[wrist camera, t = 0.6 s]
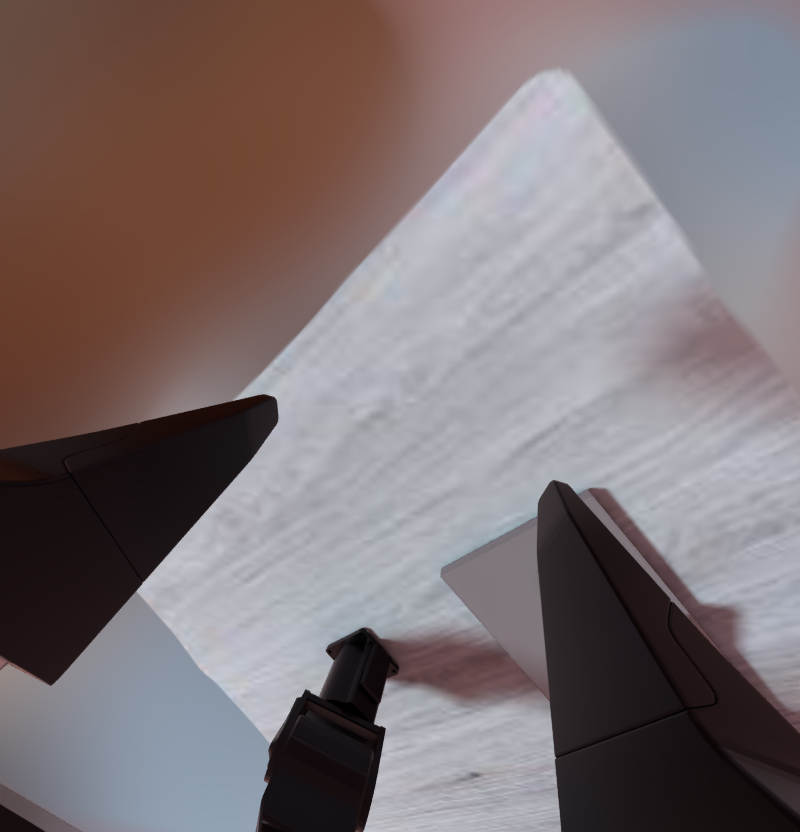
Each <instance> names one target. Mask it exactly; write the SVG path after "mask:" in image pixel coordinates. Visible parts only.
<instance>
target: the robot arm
mask: <svg viewBox="0 0 800 832" xmlns="http://www.w3.org/2000/svg"><path fill="white" fill-rule="evenodd" d="M277 422H278V407H277V400H276V398H275V397H272V396H269V395H265V394H262V395H257V396H253V397H249V398H244V399H240V400H235V401H231V402H227V403H222V404H218V405H214V406H209V407H205V408H200V409H196V410H192V411H187V412H183V413H178V414H174V415H169V416H165V417H161V418H156V419H152V420H147V421H143V422H140V423H134V424H130V425H125V426H121V427H116V428H111V429H107V430H102V431H98V432H92V433H87V434H82V435H77V436H71V437H66V438H61V439H56V440H50V441H44V442H39V443H33V444H28V445H22V446H17V447H11V448H6V449H0V670H1V669H2V668H4V667H5V666H6V665H7V664H9V665H11V666H13V667H15V668H17V669H19V670H21V671H23V672H25V673H27V674H29V675H31V676H33V677H34V678H36V679H38V680H40V681H42V682H44V683H46V684H48V685H50V686H51V685H53V684H54V683H55V682H56V681H57V680H58V679H59V678H60V677H61V676H62V674H64V672H65V671H66V670H67V669H68V668H69V667H70V666H71V664H72V663H73V662H74V661H75V660H76V659H77V658H78V657H79V655H80V654H81V653H82V652H83V651H84V650H85V649H86V647H87V646H88V645H89V644H90V643H91V642H92V640H93V639H94V638H95V637H96V636H97V635H98V634H99V633H100V631H101V630H102V629H103V628H104V627H105V626H106V625H107V623H108V622H109V621H110V620H111V619H112V618H113V617H114V615H115V614H116V613H117V612H118V611H119V610H120V609H121V608H122V606H123V605H124V604H125V603H126V602H127V601H128V600H129V598H130V597H131V596H132V595H133V594H134V593H135V592H136V591H137V589H138V588H139V587H140V586H141V585H142V584H143V582H144V581H145V580H146V579H147V578H148V577H149V576H150V574H151V573H152V572H153V571H154V570H155V569H156V568H157V566H158V565H159V564H160V563H161V562H162V561H163V560H164V558H165V557H166V556H167V555H168V554H169V553H170V552H171V551H172V549H173V548H174V547H175V546H176V545H177V544H178V543H179V541H180V540H181V539H182V538H183V537H184V536H185V535H186V533H187V532H188V531H189V530H190V529H191V528H192V527H193V526H194V524H195V523H196V522H197V521H198V520H199V519H200V518H201V516H202V515H203V514H204V513H205V512H206V511H207V510H208V508H209V507H210V506H211V505H212V504H213V503H214V502H215V501H216V499H217V498H218V497H219V496H220V495H221V494H222V493H223V491H224V490H225V489H226V488H227V487H228V486H229V485H230V483H231V482H232V481H233V480H234V479H235V478H236V477H237V476H238V474H239V473H240V472H241V471H242V470H243V469H244V468H245V466H246V465H247V464H248V463H249V462H250V461H251V459H252V458H253V457H254V455H255V454H256V453H257V451H258V450H259V449H260V447H261V446H262V444H263V443H264V442H265V440H266V439H267V437H268V436H269V434H270V433H271V432H272V430H273V429H274V427H275V426H276V424H277ZM537 565H538V576H539V587H540V598H541V609H542V620H543V631H544V642H545V653H546V664H547V675H548V686H549V697H550V708H551V719H552V730H553V741H554V752H555V757H556V759H555V766H556V777H557V788H558V799H559V810H560V821H561V832H800V733H799V732H798V731H797V730H796V729H795V728H794V727H793V726H792V725H791V724H790V723H789V722H788V721H787V720H786V719H785V718H784V717H783V716H782V715H781V714H780V713H779V712H778V711H777V710H776V709H775V708H774V707H773V706H772V705H771V704H770V703H769V702H768V701H767V700H766V699H765V698H764V697H763V696H762V695H761V694H760V693H759V692H758V691H757V690H756V689H755V688H754V687H753V686H752V685H751V684H750V683H749V682H748V681H747V680H746V679H745V678H744V677H743V676H742V675H741V674H740V672H739V671H738V670H737V669H736V668H735V667H734V666H733V665H732V664H731V663H730V662H729V661H728V660H727V659H726V658H725V657H724V656H723V655H722V654H721V653H720V652H719V651H718V650H717V649H716V648H715V647H714V646H713V645H712V643H711V642H710V641H709V640H708V639H707V638H706V637H705V636H704V635H703V634H702V633H701V632H700V630H699V629H698V628H697V627H696V626H695V625H694V624H693V623H692V622H691V621H690V620H689V619H688V617H687V616H686V615H685V614H684V613H683V612H682V611H681V610H680V608H679V607H678V606H677V605H676V604H675V603H674V602H671V599H670V597H669V596H668V595H667V594H666V593H665V592H664V591H663V590H662V589H661V587H660V586H659V585H658V584H657V583H656V582H655V581H654V580H653V578H652V577H651V576H650V575H649V574H648V573H647V572H646V571H645V570H644V568H643V567H642V566H641V565H640V564H639V563H638V562H637V561H636V560H635V558H634V557H633V556H632V555H631V554H630V553H629V552H628V551H627V549H626V548H625V547H624V546H623V545H622V544H621V543H620V542H619V541H618V539H617V538H616V537H615V536H614V535H613V534H612V533H611V532H610V531H609V529H608V528H607V527H606V526H605V525H604V524H603V523H602V522H601V521H600V519H599V518H598V517H597V516H596V515H595V514H594V513H593V512H592V510H591V509H590V508H589V507H588V506H587V505H586V504H585V503H584V502H583V500H582V499H581V498H580V497H579V496H578V495H577V494H576V493H575V492H574V490H573V489H572V488H571V487H570V486H569V485H568V484H566V483H563V482H559V481H556V480H553V481H551V482H550V483H549V485H548V486H547V488H546V489H545V491H544V492H543V494H542V496H541V497H540V499H539V502H538V519H537ZM326 652H327V653H328V655H329V656H330V657H331V658H332V659H333V660H334V662H333V665H332V667H331V669H330V672H329V674H328V676H327V679H326V681H325V684H324V686H323V688H322V691H321V693H320V695H319V697H318V696H316V695H314V694H312V693H310V691H309V690H305V691H304V693H303V695H302V697H298V698H297V699H296V701H295V703H294V705H293V707H292V709H291V711H290V713H289V715H288V717H287V719H286V720H285V722H284V723H283V725H282V727H281V728H280V730H279V731H278V733H277V734H276V736H275V738H274V739H273V741H272V743H271V745H270V747H269V750H268V751H269V759H270V760H269V763H268V766H267V767H268V769H267V771H266V774H265V778H264V781H265V782H267V783H268V786H267V788H266V790H265V792H264V795H263V797H262V800H261V805H260V811H259V816H258V822H257V827H256V832H363V831H364V828H365V825H366V821H367V818H368V814H369V810H370V806H371V802H372V798H373V794H374V789H375V785H376V780H377V775H378V769H379V763H380V758H381V752H382V747H383V741H384V736H385V730H386V728H384V727H382V726H380V727H379V726H377V725H375V724H374V721H375V717H376V713H377V710H378V706H379V703H380V702H381V699H382V695H383V691H384V687H385V683H386V679H387V678H389V677H392V676H394V675H396V674H398V671H399V667H398V666H397V664H396V663H395V662H394V661H393V660H392V659H391V658H390V657H389V656H388V655H387V653H386V652H385V651H384V650H383V649H382V648H381V647H380V646H379V645H378V643H377V642H376V641H375V640H374V639H373V638H372V637H371V636H370V635H369V634H368V632H367V631H366V630H364V629H360V630H358V631H356V632H354V633H352V634H350V635H348V636H346V637H344V638H342V639H340V640H338V641H336V642H334V643H332V644H330V645H329V646H328V647H327V649H326ZM0 832H82V831H81V830H79V829H77V828H76V827H74V826H72V825H71V824H69V823H67V822H65V821H63V820H62V819H60V818H59V817H57V816H55V815H54V814H52V813H50V812H49V811H47V810H45V809H43V808H42V807H40V806H38V805H37V804H35V803H33V802H31V801H30V800H28V799H26V798H25V797H23V796H21V795H20V794H18V793H16V792H15V791H13V790H11V789H9V788H8V787H6V786H4V785H3V784H1V783H0Z"/></svg>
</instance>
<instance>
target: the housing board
mask: <svg viewBox="0 0 800 832" xmlns="http://www.w3.org/2000/svg"><path fill="white" fill-rule="evenodd" d="M578 496H579V497H580V498H581V499H582V500H583V502H584V503H585V504H586V505H587V506H588V507H589V508H590V509H591V510H592V512H593V513H594V514H595V515H596V516H597V517H598V518H599V519H600V521H601V522H602V523H603V524H604V525H605V526H606V527H607V528H608V529H609V531H610V532H611V533H612V534H613V535H614V536H615V537H616V538H617V539H618V541H619V542H620V543H621V544H622V545H623V546H624V547H625V548H626V549H627V551H628V552H629V553H630V554H631V555H632V556H633V557H634V558H635V560H636V561H637V562H638V563H639V564H640V565H641V566H642V567H643V568H644V570H645V571H646V572H647V573H648V574H649V575H650V576H651V577H652V578H653V580H654V581H655V582H656V583H657V584H658V585H659V586H660V587H661V589H662V590H663V591H664V592H665V593H666V594H667V595H668V596H669V597H670V599H671V602H674V603H675V604H676V605H677V606H678V607H679V608H680V610H681V611H682V612H683V613H684V614H685V615H686V616H687V617H688V619H689V620H690V621H691V622H692V623H693V624H694V625H695V626H696V627H697V628H698V629H699V630H700V632H701V633H702V634H703V635H704V636H705V637H706V638H707V639H708V640H709V641H710V642H711V643H712V645H713V646H714V647H715V648H716V649H717V650H718V651H719V652H720V653H721V654H722V655H723V653H722V652H721V651H720V650H719V649H718V647H717V646H716V645H715V644H714V642H713V641H712V640H711V639H710V638H709V636H708V635H707V634H706V633H705V632H704V630H703V629H702V628H701V627H700V625H699V624H698V623H697V622H696V621H695V619H694V618H693V617H692V616H691V614H690V613H689V612H688V611H687V610H686V608H685V607H684V606H683V605H682V604H681V602H680V601H679V600H678V599H677V597H676V596H675V595H674V594H673V593H672V591H671V590H670V589H669V588H668V587H667V585H666V584H665V583H664V582H663V580H662V579H661V578H660V577H659V576H658V574H657V573H656V572H655V571H654V569H653V568H652V567H651V566H650V565H649V563H648V562H647V561H646V560H645V559H644V557H643V556H642V555H641V554H640V552H639V551H638V550H637V549H636V548H635V546H634V545H633V544H632V543H631V542H630V540H629V539H628V538H627V537H626V535H625V534H624V533H623V532H622V531H621V529H620V528H619V527H618V526H617V524H616V523H615V522H614V521H613V520H612V518H611V517H610V516H609V515H608V514H607V512H606V511H605V510H604V509H603V507H602V506H601V505H600V504H599V503H598V501H597V500H596V499H595V498H594V497H593V495H592V494H591V493H590V492H589V490H586V491H584V492H582V493H580V494H578ZM537 519H538V517H536V518H534V519H532V520H530V521H528V522H527V523H525V524H523V525H521V526H519V527H517V528H515V529H514V530H512V531H510V532H508V533H506V534H504V535H503V536H501V537H499V538H497V539H495V540H493V541H491V542H490V543H488V544H486V545H484V546H482V547H480V548H479V549H477V550H475V551H473V552H471V553H469V554H467V555H466V556H464V557H462V558H460V559H458V560H456V561H454V562H453V563H451V564H449V565H447V566H445V567H443V568H442V569H441V576H440V577H441V578H442V579H443V580H444V581H445V582H446V583H447V585H448V586H449V587H450V588H451V589H452V590H453V591H454V593H455V594H456V595H457V596H458V597H459V598H460V599H461V601H462V602H463V603H464V604H465V605H466V606H467V607H468V609H469V610H470V611H471V612H472V613H473V614H474V615H475V617H476V618H477V619H478V620H479V621H480V622H481V623H482V625H483V626H484V627H485V628H486V629H487V630H488V631H489V633H490V634H491V635H492V636H493V637H494V638H495V639H496V641H497V642H498V643H499V644H500V645H501V646H502V647H503V649H504V650H505V651H506V652H507V653H508V654H509V655H510V657H511V658H512V659H513V660H514V661H515V662H516V663H517V665H518V666H519V667H520V668H521V669H522V670H523V671H524V673H525V674H526V675H527V676H528V677H529V678H530V679H531V681H532V682H533V683H534V684H535V685H536V686H537V687H538V689H539V690H540V691H541V692H542V693H543V694H544V695H545V697H546V698H547V699H548V700H549V701H550V697H549V686H548V675H547V664H546V653H545V642H544V631H543V620H542V609H541V598H540V587H539V576H538V565H537ZM723 656H724V655H723ZM724 657H725V656H724ZM725 658H726V657H725ZM726 659H727V658H726ZM727 660H728V659H727Z"/></svg>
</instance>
